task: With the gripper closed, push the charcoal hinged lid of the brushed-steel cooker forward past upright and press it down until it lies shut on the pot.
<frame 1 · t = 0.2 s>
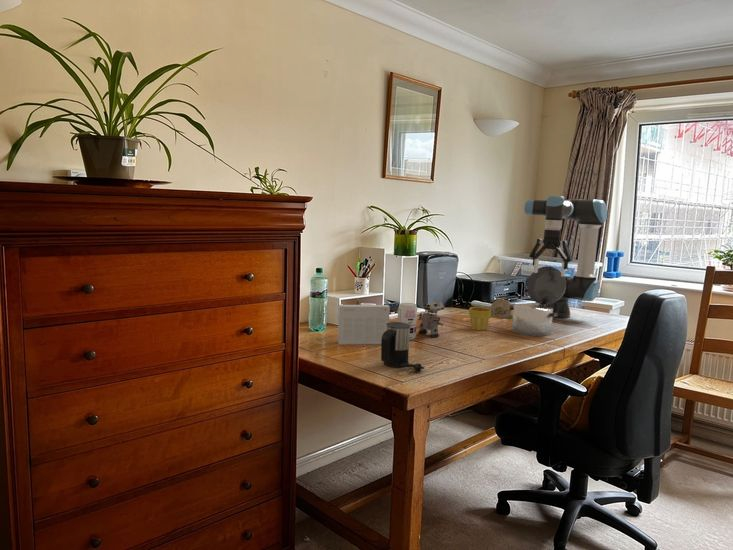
hand: (549, 274, 262), 28 cm above the table, fingers open, 13 cm apart
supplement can: (406, 338, 243), on the table
milk frother: (403, 367, 200), on the table
ceramic model: (501, 316, 302), on the table
plant pot: (478, 329, 268), on the table
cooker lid: (547, 285, 275), point 21 cm above the table, hinge at 107.2°
skincare box: (362, 343, 231), on the table
figurine: (431, 335, 251), on the table
cooker pot: (531, 331, 267), on the table
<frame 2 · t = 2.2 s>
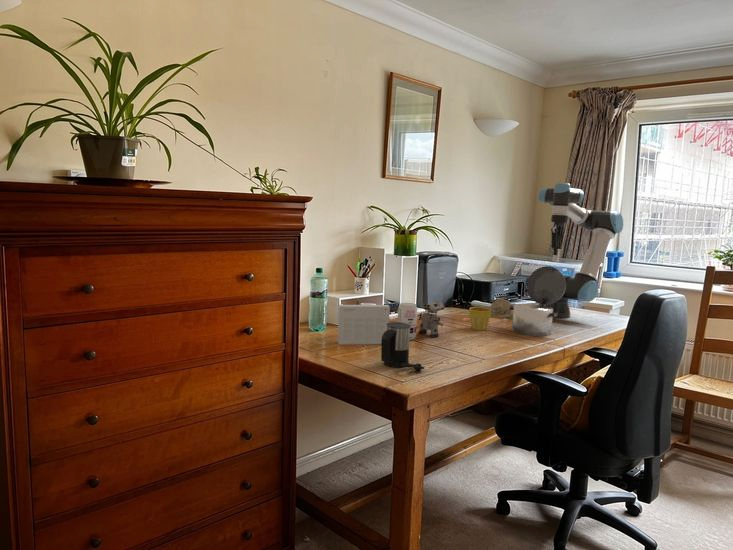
hand: (555, 261, 280), 33 cm above the table, fingers closed
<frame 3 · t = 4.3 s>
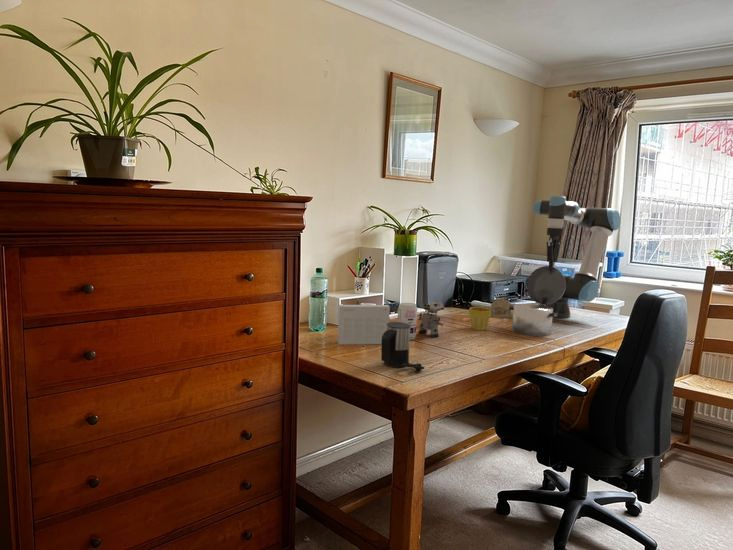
hand: (550, 274, 277), 26 cm above the table, fingers closed
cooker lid: (546, 285, 275), point 21 cm above the table, hinge at 105.7°, touching gripper
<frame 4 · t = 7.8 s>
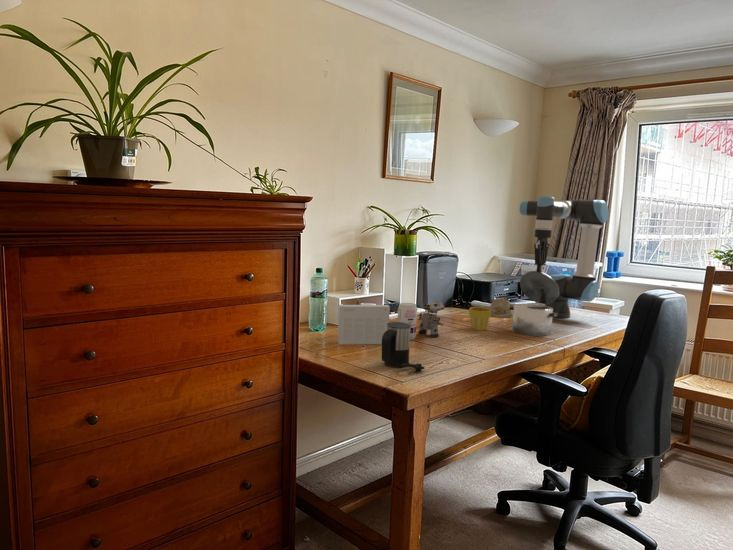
hand: (539, 278, 266), 25 cm above the table, fingers closed
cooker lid: (540, 286, 269), point 22 cm above the table, hinge at 55.9°, touching gripper
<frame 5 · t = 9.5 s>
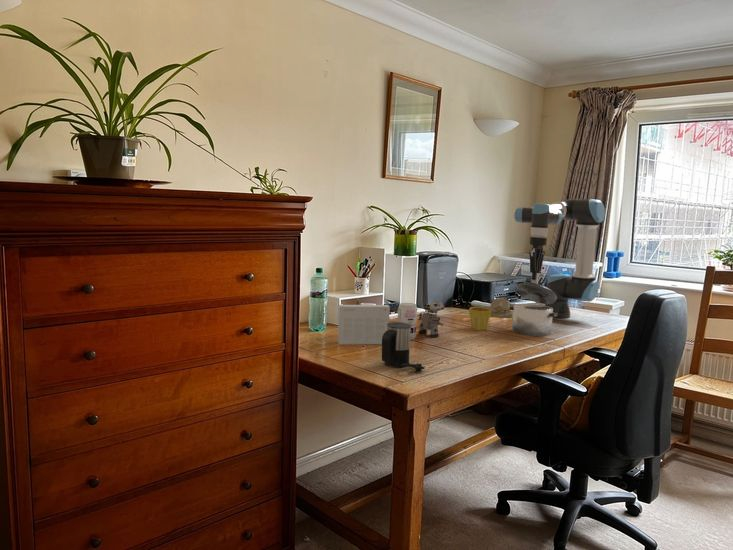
hand: (534, 286, 263), 22 cm above the table, fingers closed
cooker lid: (537, 291, 266), point 19 cm above the table, hinge at 32.2°, touching gripper
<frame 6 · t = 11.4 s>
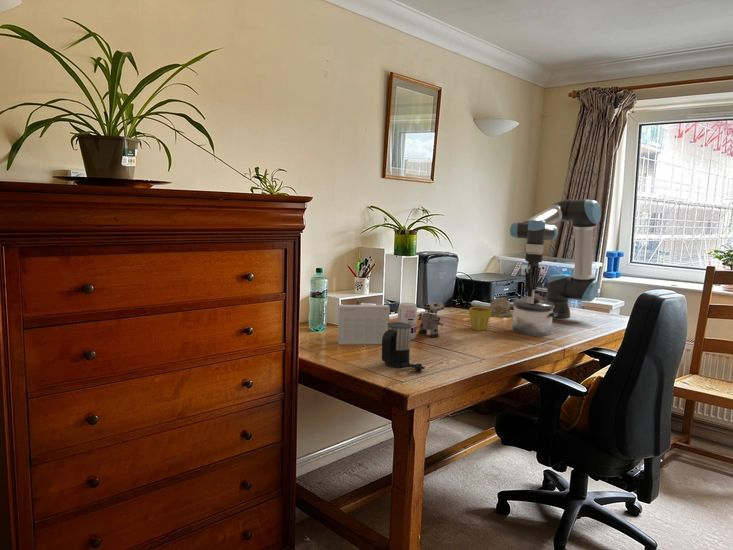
hand: (530, 303, 262), 14 cm above the table, fingers closed
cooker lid: (533, 301, 265), point 15 cm above the table, hinge at -0.8°, touching gripper
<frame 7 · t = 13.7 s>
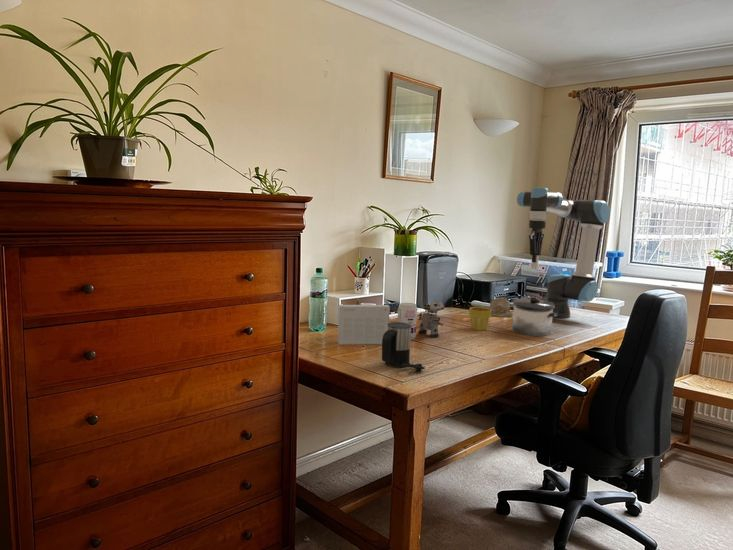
hand: (534, 268, 270), 30 cm above the table, fingers closed
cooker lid: (533, 301, 265), point 15 cm above the table, hinge at -0.4°
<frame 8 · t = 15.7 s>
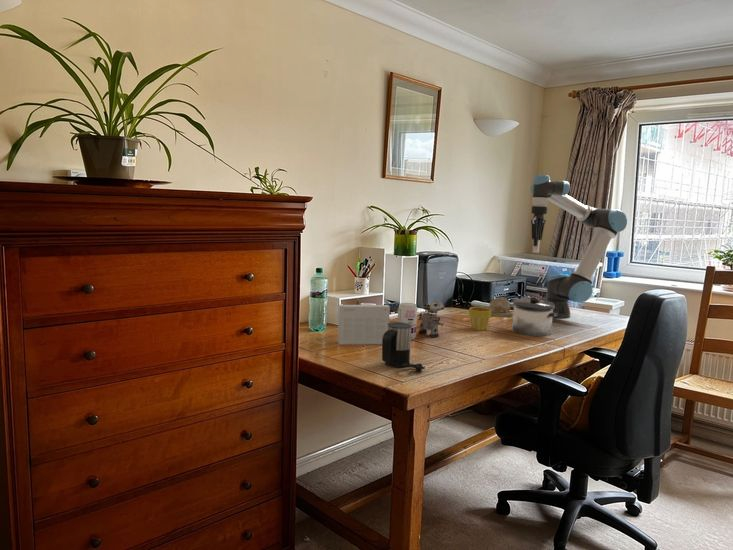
hand: (535, 252, 285), 36 cm above the table, fingers closed
at the end: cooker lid at +0° (first picture: +107°); plant pot moved 0.2 cm from its start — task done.
